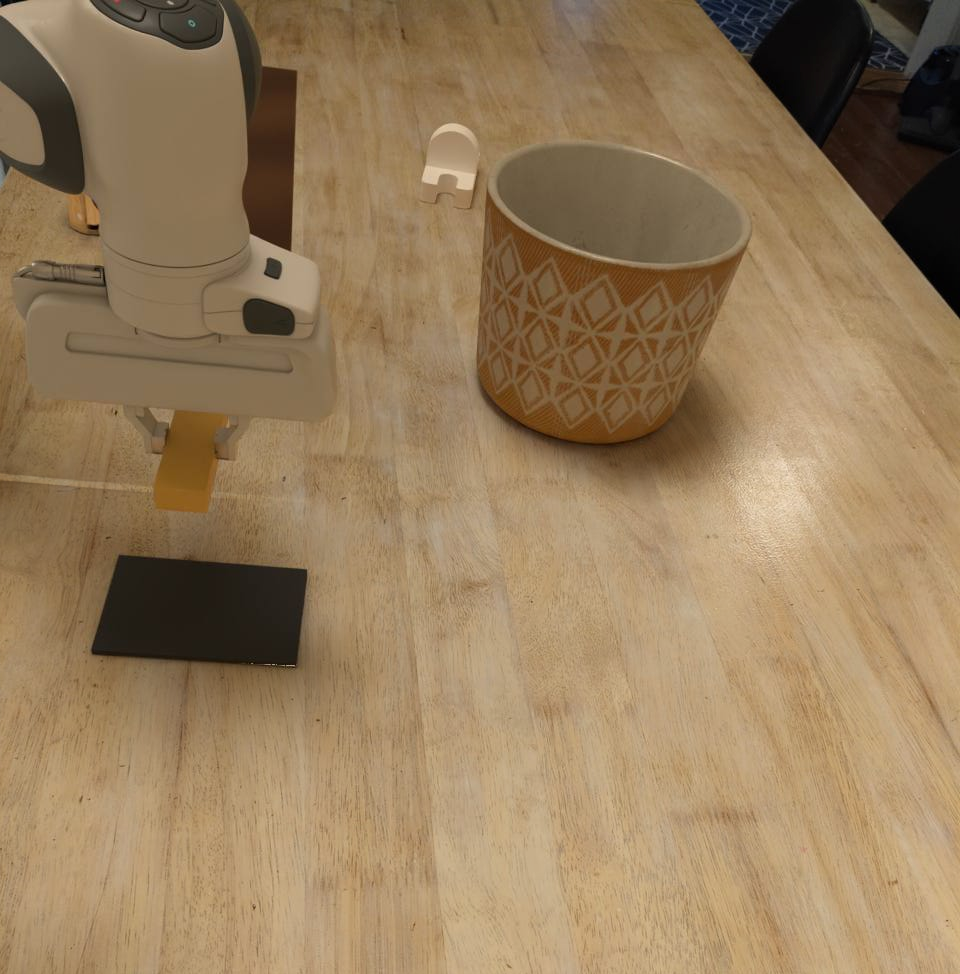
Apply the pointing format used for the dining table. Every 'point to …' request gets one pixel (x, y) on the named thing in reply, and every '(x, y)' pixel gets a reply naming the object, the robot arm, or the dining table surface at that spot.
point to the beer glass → (83, 214)
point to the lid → (272, 159)
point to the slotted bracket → (451, 165)
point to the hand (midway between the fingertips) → (193, 452)
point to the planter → (600, 284)
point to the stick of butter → (188, 462)
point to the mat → (202, 611)
